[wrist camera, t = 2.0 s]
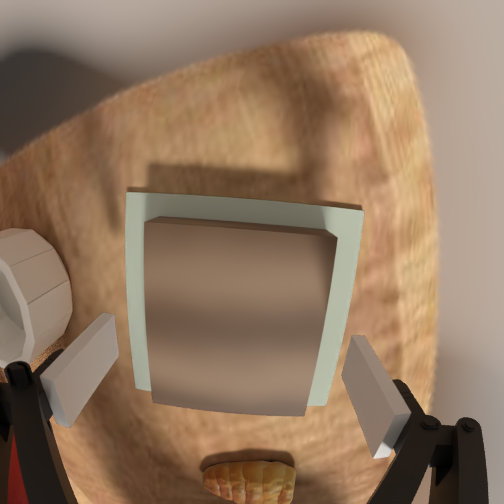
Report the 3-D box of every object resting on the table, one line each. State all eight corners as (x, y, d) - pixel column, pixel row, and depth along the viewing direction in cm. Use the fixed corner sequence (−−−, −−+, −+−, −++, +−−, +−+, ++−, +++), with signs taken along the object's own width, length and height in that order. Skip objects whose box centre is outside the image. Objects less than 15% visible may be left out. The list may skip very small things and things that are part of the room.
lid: (299, 392, 23) (304, 416, 20) (162, 379, 23) (152, 402, 20) (326, 229, 20) (337, 237, 17) (159, 216, 20) (144, 221, 17)
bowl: (81, 347, 23) (46, 385, 17) (5, 325, 23) (-32, 351, 17) (69, 230, 21) (20, 247, 15) (-9, 225, 20) (-55, 237, 15)
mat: (325, 403, 24) (325, 405, 23) (136, 386, 23) (135, 388, 23) (362, 210, 20) (364, 210, 20) (127, 192, 20) (126, 192, 20)
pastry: (205, 486, 27) (201, 511, 23) (202, 452, 26) (197, 480, 22) (289, 489, 27) (291, 515, 23) (298, 456, 26) (302, 484, 22)
